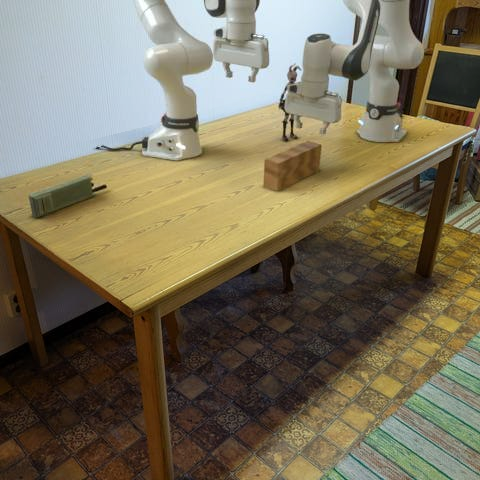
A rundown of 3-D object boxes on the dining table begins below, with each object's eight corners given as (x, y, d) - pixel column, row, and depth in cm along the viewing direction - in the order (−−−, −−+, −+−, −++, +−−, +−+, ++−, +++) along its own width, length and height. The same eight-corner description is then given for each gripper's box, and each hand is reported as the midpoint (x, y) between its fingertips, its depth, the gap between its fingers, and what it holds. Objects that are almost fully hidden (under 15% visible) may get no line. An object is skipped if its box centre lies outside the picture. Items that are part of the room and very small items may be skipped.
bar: (277, 191, 160) (278, 163, 156) (263, 186, 164) (264, 158, 159) (319, 170, 177) (321, 144, 172) (305, 166, 180) (308, 140, 175)
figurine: (281, 144, 200) (285, 65, 186) (270, 140, 204) (273, 62, 189) (305, 136, 209) (311, 60, 194) (294, 133, 213) (299, 58, 198)
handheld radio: (30, 215, 144) (102, 188, 161) (37, 219, 142) (109, 191, 159) (26, 193, 140) (100, 168, 157) (33, 197, 138) (107, 171, 155)
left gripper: (274, 34, 148) (272, 83, 155) (223, 28, 160) (223, 73, 166) (261, 36, 144) (259, 86, 151) (209, 30, 155) (210, 76, 162)
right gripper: (347, 92, 158) (342, 135, 165) (294, 82, 170) (291, 123, 177) (337, 95, 154) (332, 139, 161) (283, 85, 166) (280, 126, 173)
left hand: (240, 79), depth 159 cm, fingers open, 8 cm apart
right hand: (310, 130), depth 169 cm, fingers open, 8 cm apart
